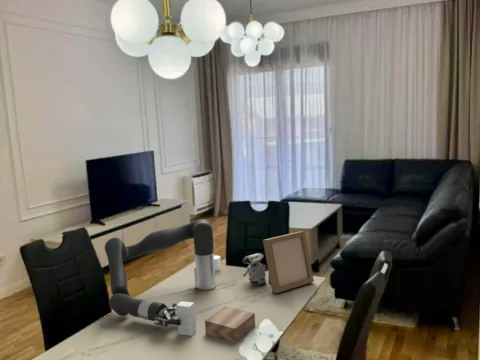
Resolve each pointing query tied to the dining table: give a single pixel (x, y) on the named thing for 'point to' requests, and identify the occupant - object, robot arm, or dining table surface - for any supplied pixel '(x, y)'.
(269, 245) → the photo frame
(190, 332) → the skincare box
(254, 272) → the figurine
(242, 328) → the walnut block
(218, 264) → the white round piece
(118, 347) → the dining table surface
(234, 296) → the dining table surface
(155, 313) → the robot arm
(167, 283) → the dining table surface
